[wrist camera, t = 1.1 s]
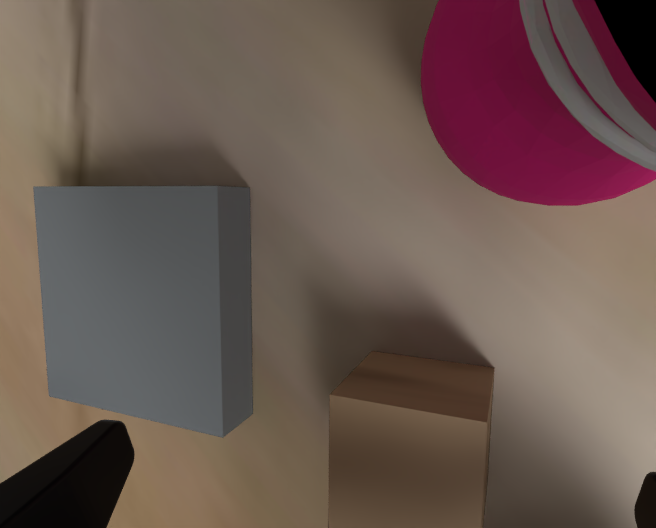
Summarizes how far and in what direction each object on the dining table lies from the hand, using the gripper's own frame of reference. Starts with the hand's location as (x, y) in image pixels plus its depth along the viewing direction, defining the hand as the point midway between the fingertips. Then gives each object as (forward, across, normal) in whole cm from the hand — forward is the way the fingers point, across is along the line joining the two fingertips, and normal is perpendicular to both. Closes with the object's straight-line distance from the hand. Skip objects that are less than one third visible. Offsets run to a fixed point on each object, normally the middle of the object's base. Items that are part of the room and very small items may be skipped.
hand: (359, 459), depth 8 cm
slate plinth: (+13, +12, +5) cm, 19 cm away
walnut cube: (+9, -2, +8) cm, 12 cm away
